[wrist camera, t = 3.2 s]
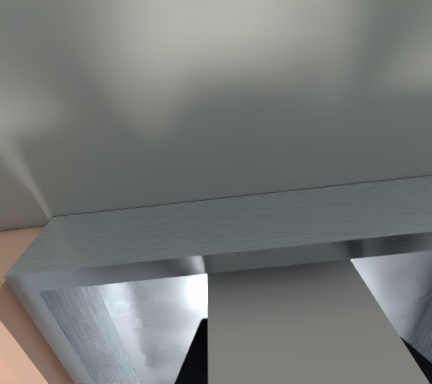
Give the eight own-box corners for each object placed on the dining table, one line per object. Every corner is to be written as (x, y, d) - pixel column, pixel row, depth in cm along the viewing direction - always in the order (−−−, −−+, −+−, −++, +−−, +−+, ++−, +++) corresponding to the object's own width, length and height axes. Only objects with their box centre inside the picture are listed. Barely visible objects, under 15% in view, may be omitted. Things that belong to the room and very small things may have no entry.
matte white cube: (341, 246, 8) (440, 400, 5) (329, 330, 10) (393, 484, 7) (207, 260, 8) (208, 422, 5) (220, 341, 10) (228, 497, 7)
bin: (489, 169, 9) (586, 215, 6) (396, 395, 15) (428, 455, 13) (52, 216, 9) (3, 276, 7) (149, 417, 16) (140, 480, 13)
